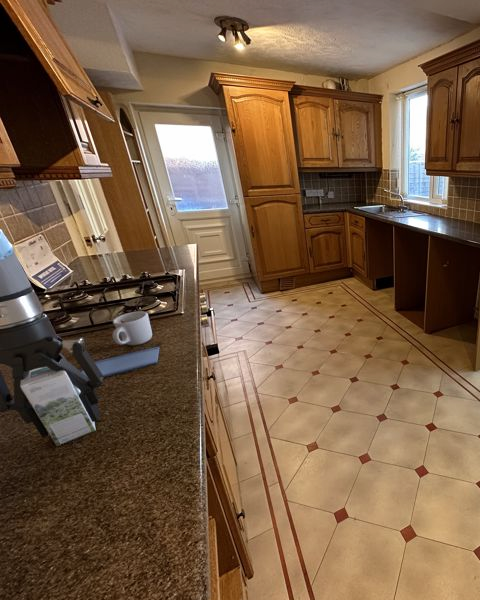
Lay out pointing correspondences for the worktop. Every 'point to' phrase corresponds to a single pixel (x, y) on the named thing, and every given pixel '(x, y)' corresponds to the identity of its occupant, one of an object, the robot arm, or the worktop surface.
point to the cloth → (127, 362)
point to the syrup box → (57, 404)
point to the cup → (132, 328)
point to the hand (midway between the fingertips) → (72, 424)
